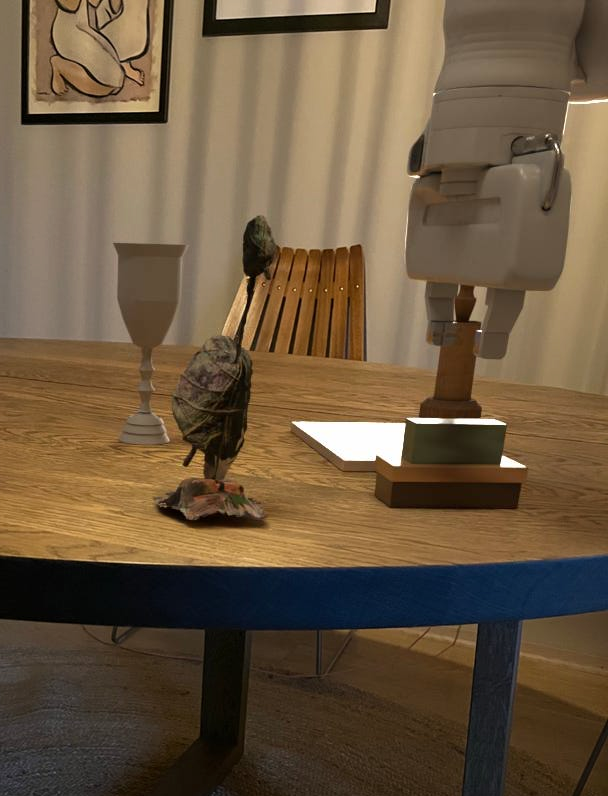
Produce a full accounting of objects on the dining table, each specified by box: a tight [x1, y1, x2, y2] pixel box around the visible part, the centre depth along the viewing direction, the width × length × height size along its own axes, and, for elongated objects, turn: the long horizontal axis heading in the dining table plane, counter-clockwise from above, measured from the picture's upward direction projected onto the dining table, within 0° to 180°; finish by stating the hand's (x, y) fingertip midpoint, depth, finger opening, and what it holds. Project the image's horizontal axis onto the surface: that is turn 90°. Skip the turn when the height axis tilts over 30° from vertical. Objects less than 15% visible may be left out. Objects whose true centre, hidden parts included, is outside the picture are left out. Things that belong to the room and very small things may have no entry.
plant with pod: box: [152, 214, 277, 521], centre depth 72 cm, size 8×11×20 cm
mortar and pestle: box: [417, 285, 483, 419], centre depth 111 cm, size 7×6×18 cm
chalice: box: [112, 242, 189, 446], centre depth 98 cm, size 7×7×18 cm
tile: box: [290, 421, 405, 473], centre depth 99 cm, size 14×20×1 cm
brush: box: [374, 417, 529, 509], centre depth 79 cm, size 10×4×6 cm, turn 95°
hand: (462, 351), depth 76 cm, fingers open, 8 cm apart
